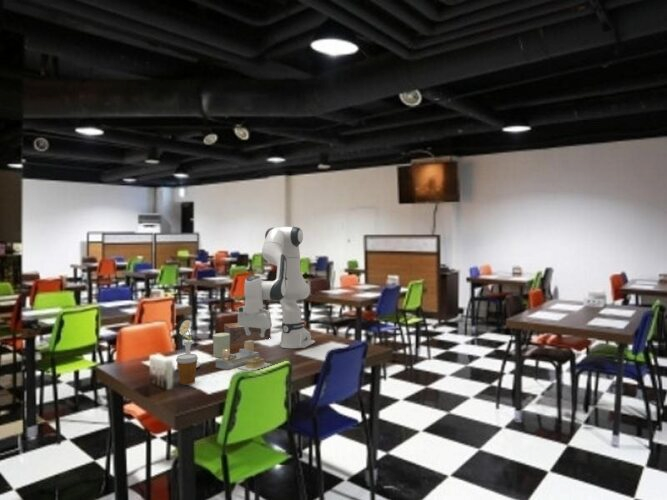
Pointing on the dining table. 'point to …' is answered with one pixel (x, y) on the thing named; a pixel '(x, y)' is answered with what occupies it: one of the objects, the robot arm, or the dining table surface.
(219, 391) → the dining table surface
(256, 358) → the lever cap
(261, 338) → the tissue box cover
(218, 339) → the can
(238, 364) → the hand plane
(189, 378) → the disposable coffee cup
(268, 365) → the mat
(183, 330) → the flower in vase
